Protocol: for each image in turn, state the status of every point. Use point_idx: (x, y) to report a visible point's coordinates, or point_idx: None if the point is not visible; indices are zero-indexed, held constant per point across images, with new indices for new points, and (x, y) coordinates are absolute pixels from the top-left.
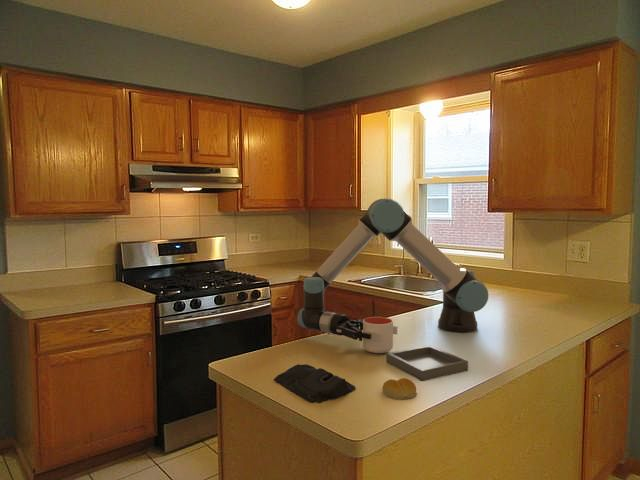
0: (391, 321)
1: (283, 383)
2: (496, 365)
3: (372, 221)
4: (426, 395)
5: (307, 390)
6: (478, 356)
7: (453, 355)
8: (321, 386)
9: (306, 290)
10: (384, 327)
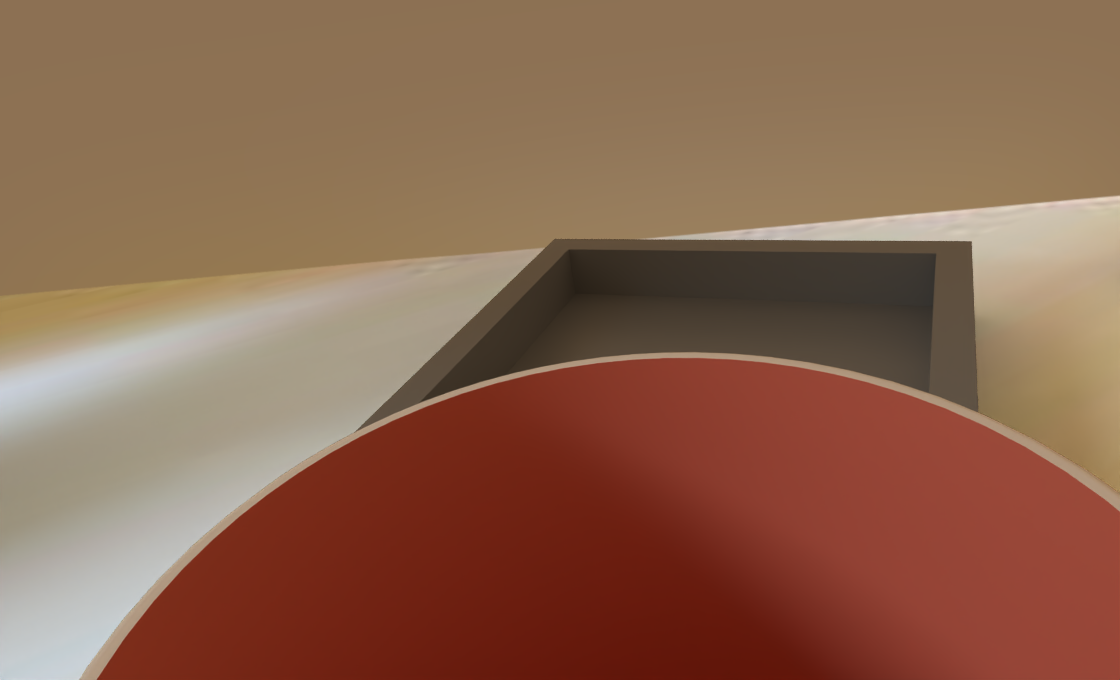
0: (332, 491)
1: None
2: (380, 285)
3: None
4: (1092, 236)
5: None
6: (252, 363)
7: (504, 293)
8: None
9: None
10: (792, 425)
